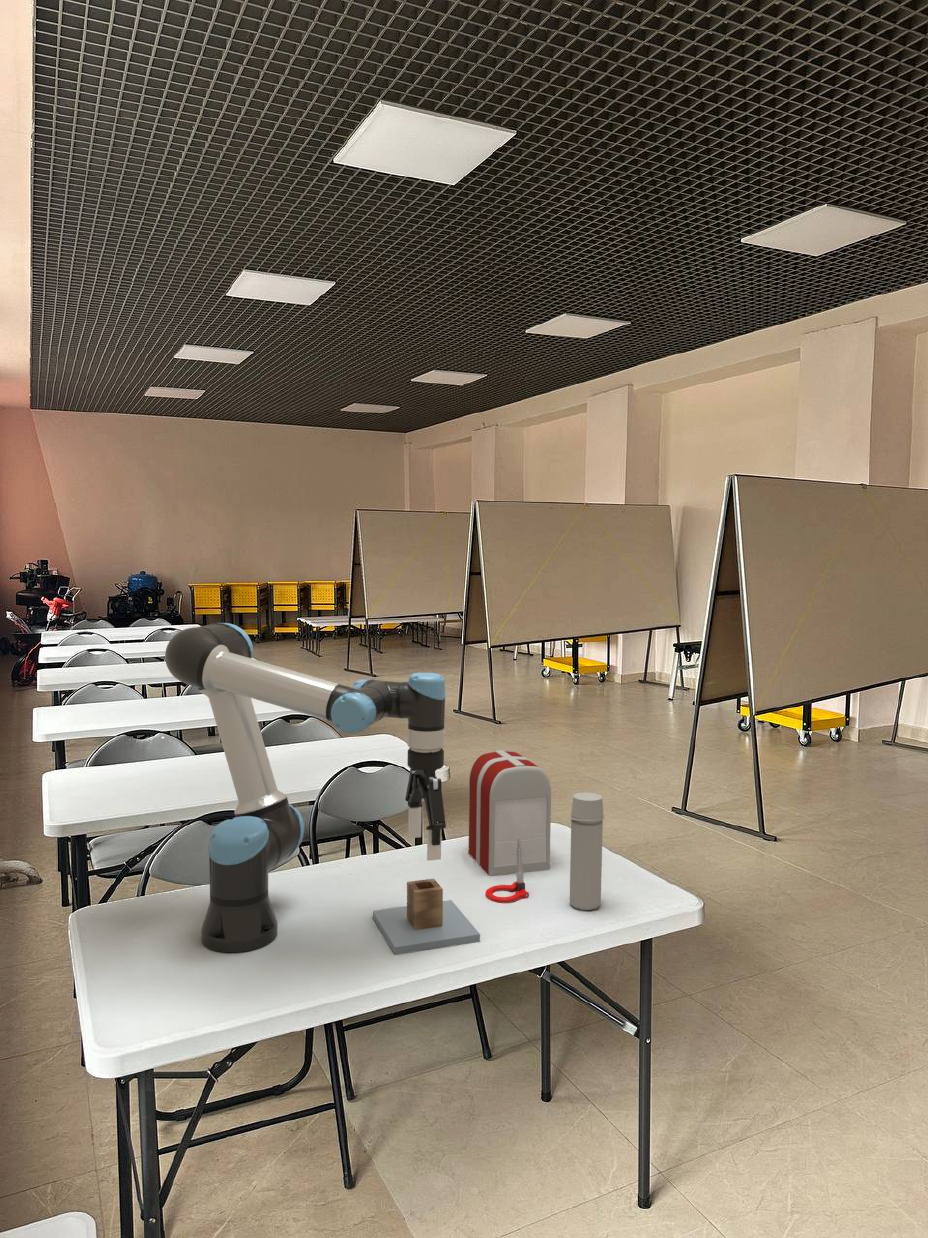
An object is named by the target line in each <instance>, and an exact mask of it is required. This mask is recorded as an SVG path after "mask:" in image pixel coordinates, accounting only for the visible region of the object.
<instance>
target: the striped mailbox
mask: <svg viewBox="0 0 928 1238" xmlns="http://www.w3.org/2000/svg"><path fill="white" fill-rule="evenodd" d="M551 811H552V787H551V782H550V779H549V777H548V774H547V773H546V771H545V770H544V769H542V768H541V767H540V766H538V765H536V764H535V763H534V762H533V761H532V760H531V759H529V758H527V757H525V756H522V755H521V754H520V753H518V752H516V751H511V750H503V749H501V750H499V749H498V750H497V749H496V750H494V751H491V752H485V753H482V754H480V755H478V757H477V758H476V759H475V760H474V762H473V763H472V766H471V768H470V771H469V779H468V850H467V852H468V854H469V855H470V857H471V858H472V859H473V860H474V861H475V863H476V864H477V865H478V866H479V867H481V869H482V870H483V871H484V872H485V874H487V876H489V877H499V876H506V875H508V876H509V875H516V872H517V840H518V839H520V840H521V848H522V871H523V873H525V874H526V873H533V872H534V873H535V872H543V871H550V868H551V823H552V821H551V819H552V818H551V816H552V814H551V813H552V812H551Z"/></svg>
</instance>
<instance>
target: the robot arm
mask: <svg viewBox="0 0 928 1238" xmlns="http://www.w3.org/2000/svg"><path fill="white" fill-rule="evenodd" d="M167 643H168V644H167V646H166V649H165V653H164V657H165V658H164V660H165V664H166V668H167V669H168V671H169V673H170V675H172V677H174V679H176V680H178V681H179V682H181V683H184V684H186V685H188V686H191V687H195V688H198V692H199V693H201V694H202V695H204V696H206V697H207V698H208V700H209V704H210V707H211V710H212V714H213V717H214V721H215V725H216V728H217V731H218V734H219V739H220V741H221V745H222V748H223V752H224V756H225V758H226V763H227V766H228V769H229V770H228V771H229V772H230V776H231V780H232V783H233V784H232V785H233V788H234V790H235V794H236V797H237V800H238V804H237V806H236V808H235V809H234V811H233V814H234V816H235V817H233V818H232V819H226V820H223V821H222V822H219V823H218V824H217V825H216V826H214V827H213V829H212V830H211V832H210V834H209V843H208V850H207V853H208V864H209V865H208V867H209V871H208V873H209V904H208V908H207V911H206V913H205V917H204V921H203V924H202V927H201V942H202V945H204V947H206V948H207V949H210V950H211V951H215V952H220V953H243V952H248V951H253V950H257V949H259V948H262V947H264V946H266V945H268V944H270V943H272V942H273V941H274V940H275V939H276V937H277V936H278V920H277V917H276V914H275V911H274V908H273V905H272V903H271V900H270V897H269V872H270V871H271V870H273V869H275V867H276V866H278V865H279V864H280V863H282V862H283V861H285V860H286V859H288V858H290V857H291V856H292V855H293V853H294V852H295V851H296V850H297V849H299V846H300V845H301V844H302V841H303V839H304V834H305V822H304V819H303V816H302V814H301V813H300V811H299V810H298V808H296V807H294V806H293V805H292V804H290V803H289V799H288V797H287V794H285V792H283V791H280V790H278V787H277V784H276V783H277V782H276V781H275V780H276V779H275V777H274V773H273V769H272V765H271V763H270V760H269V755H268V753H267V749H266V745H265V743H264V739H263V736H262V732H261V728H260V724H259V721H258V718H257V714H256V711H255V708H254V704H253V701H252V699H253V700H257V701H260V702H264V703H267V704H271V705H274V706H277V707H280V708H284V709H287V710H291V711H294V712H297V713H300V714H303V715H308V716H310V717H314V718H318V719H321V720H324V721H327V722H331V723H333V725H334V726H335V727H336V728H337V729H338V730H340V731H341V732H342V733H348V734H354V733H358V732H362V731H365V730H366V729H368V728H369V727H371V725H374V724H375V723H377V722H378V721H381V720H382V719H384V718H392V719H393V718H395V719H407V722H408V725H407V747H408V750H407V761H406V762H407V766H408V768H410V769H409V777H408V783H407V786H406V787H407V788H406V793H405V798H404V799H405V802H407V806H408V819H407V820H408V824H407V825H408V828H407V838H408V839H414V838H415V839H416V838H422V810H423V808H422V806H425V810H426V811H425V812H426V815H427V820H428V825H427V826H426V828H425V829H426V831H427V835H426V836H427V837H426V838H427V840H426V842H427V844H426V847H427V848H426V860H427V861H436V860H437V861H438V860H441V859H442V829H443V830H444V829H446V827H447V824H446V817H445V807H444V800H443V799H444V798H443V792H442V779H441V777H440V778H438V776H436V771H437V770H440V769H442V768H443V767H444V765H445V763H444V762H445V751H444V749H443V748H444V746H445V736H446V735H447V732H446V731H445V717H446V716H445V715H446V714H445V713H446V711H445V710H446V698H447V695H446V680H445V678H444V676H443V675H442V674H439V673H436V672H414V673H412V674H409V677H408V681H403V682H402V681H393V680H392V681H391V680H390V681H388V680H378V679H375V678H374V679H372V678H371V679H358V680H356V681H355V682H354V684H353V686H352V687H351V686H348V685H344V684H340V683H337V682H334V681H330V680H326V679H323V678H320V677H317V676H313V675H310V674H306V673H302V672H299V671H297V670H296V671H295V670H292V669H289V668H286V667H282V666H278V665H274V664H272V663H267V662H265V661H262V660H259V659H258V660H257V659H254V658H253V657H254V646H253V643H252V640H251V638H250V637H249V635H248V633H247V632H246V631H245V630H244V629H243V628H241V627H240V626H238V625H236V624H234V623H233V624H232V623H228V622H216V623H210V624H207V625H201V626H197V627H196V626H194V627H189V628H185V629H182V630H181V631H179V632H177V633H176V634H175V635H173V636H172V638H171V639H170V640H169V641H168V642H167ZM423 800H424V803H423Z"/></svg>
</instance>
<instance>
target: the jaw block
mask: <svg viewBox="0 0 928 1238" xmlns="http://www.w3.org/2000/svg"><path fill="white" fill-rule="evenodd" d="M443 899H444V888H442V886H441V885H440V883H438V881H437V880H436V879H435V878H428V879H427V878H426V879H419V880H413V881H410V880H409V881H407V882H406V906H407V919H408V921H409V922H410V924H411V925H412V927H413V928H414V930H420V929H427V928H434V927H441V926H443V901H444V900H443Z"/></svg>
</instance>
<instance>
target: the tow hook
mask: <svg viewBox="0 0 928 1238" xmlns="http://www.w3.org/2000/svg"><path fill="white" fill-rule="evenodd" d="M515 875H516V881H514V882H513V883H512V884H497V885H493V886H491V887H488V888H487V889H486V890H485V897H486V899H487V900H490V901H491V902H495V903H503V904H505V903H513V902H515V901H518V900H520V899H521V898H524V899H528V898H529V897H530V893H529V892H528V891H527V890H526V883H525V880H524V879H525V877H524V875H525V874H524V873H523V871H522V848H521V840H520V839H518V840H517V872H516V874H515ZM499 891H510V892H514V891H515V893H514V894H513V895H509V896H498V895H495V894H494V893H496V892H499Z"/></svg>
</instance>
